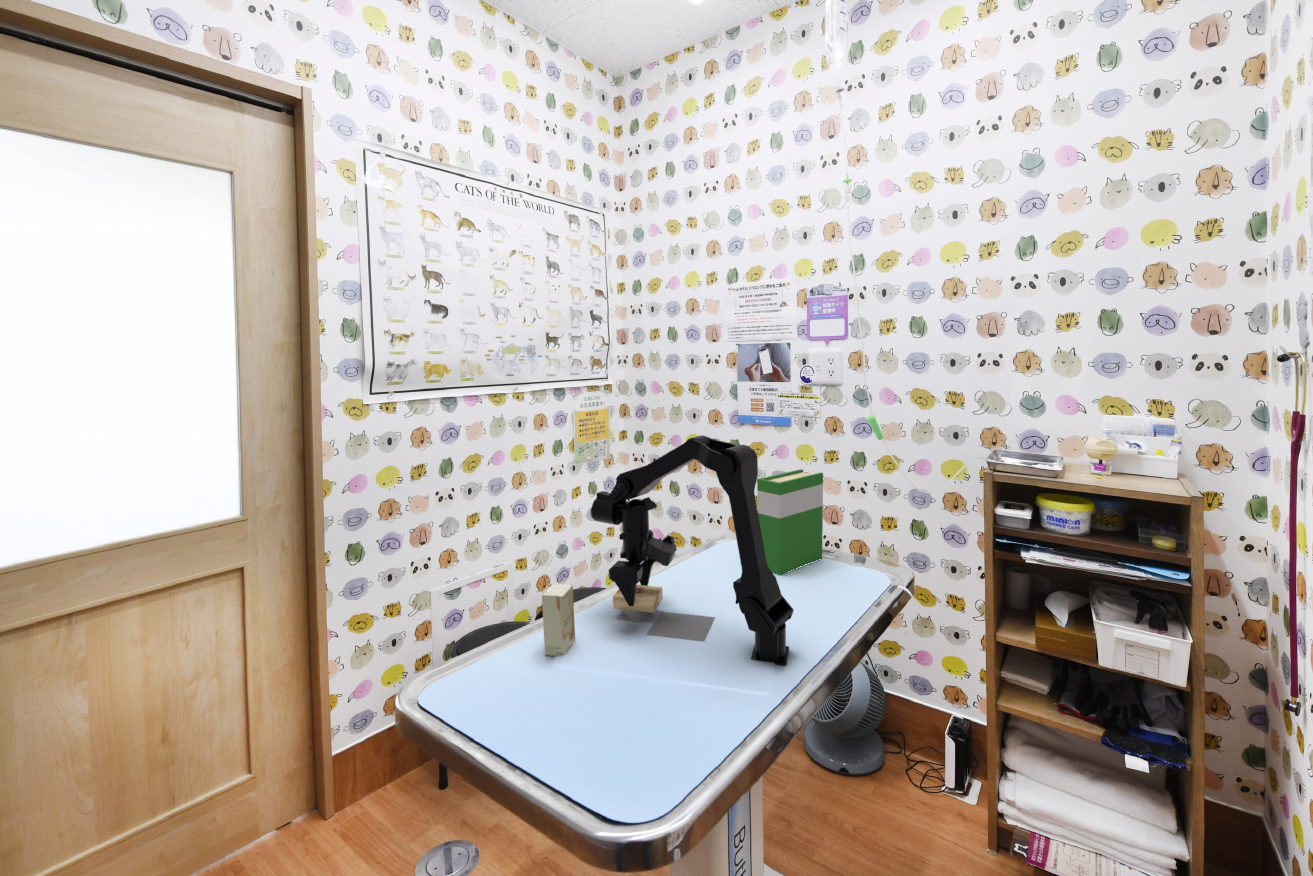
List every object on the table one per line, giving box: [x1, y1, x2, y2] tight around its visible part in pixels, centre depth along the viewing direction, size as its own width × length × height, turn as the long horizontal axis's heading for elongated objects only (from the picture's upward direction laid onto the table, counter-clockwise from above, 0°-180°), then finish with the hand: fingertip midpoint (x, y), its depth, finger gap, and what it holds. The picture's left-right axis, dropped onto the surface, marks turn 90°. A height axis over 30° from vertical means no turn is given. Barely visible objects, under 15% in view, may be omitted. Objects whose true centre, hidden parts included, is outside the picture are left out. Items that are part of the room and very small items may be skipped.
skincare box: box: [541, 583, 576, 657], centre depth 115 cm, size 6×4×12 cm
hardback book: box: [756, 468, 824, 576], centre depth 157 cm, size 18×7×24 cm, turn 128°
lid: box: [612, 584, 664, 613], centre depth 128 cm, size 7×9×3 cm
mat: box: [646, 611, 716, 642], centre depth 123 cm, size 11×12×1 cm
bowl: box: [622, 609, 655, 623], centre depth 129 cm, size 6×6×3 cm
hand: (638, 597), depth 128 cm, fingers open, 9 cm apart
